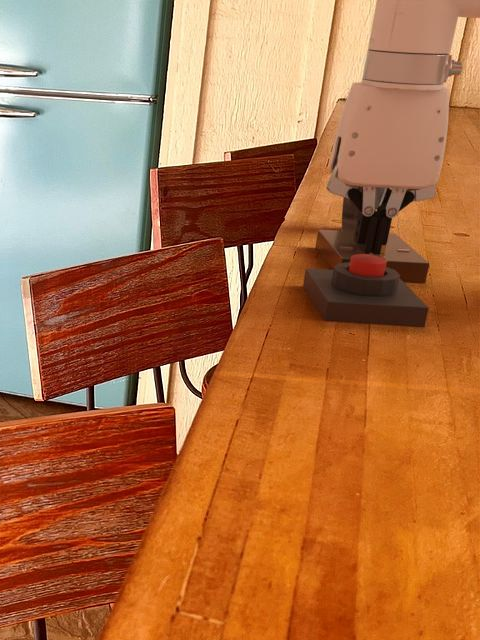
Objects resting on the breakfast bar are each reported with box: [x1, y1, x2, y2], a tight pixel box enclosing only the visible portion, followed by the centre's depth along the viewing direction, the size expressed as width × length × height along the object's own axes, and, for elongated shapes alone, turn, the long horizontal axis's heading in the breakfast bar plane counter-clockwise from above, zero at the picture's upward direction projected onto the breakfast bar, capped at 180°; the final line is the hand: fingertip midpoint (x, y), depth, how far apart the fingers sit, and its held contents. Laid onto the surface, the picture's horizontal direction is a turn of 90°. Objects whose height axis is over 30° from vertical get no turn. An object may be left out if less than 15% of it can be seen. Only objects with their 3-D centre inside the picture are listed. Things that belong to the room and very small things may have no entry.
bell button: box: [348, 254, 387, 277], centre depth 95 cm, size 4×4×2 cm
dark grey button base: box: [302, 262, 430, 328], centre depth 96 cm, size 10×12×4 cm
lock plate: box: [314, 229, 431, 284], centre depth 112 cm, size 10×14×3 cm
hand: (368, 250), depth 95 cm, fingers closed
